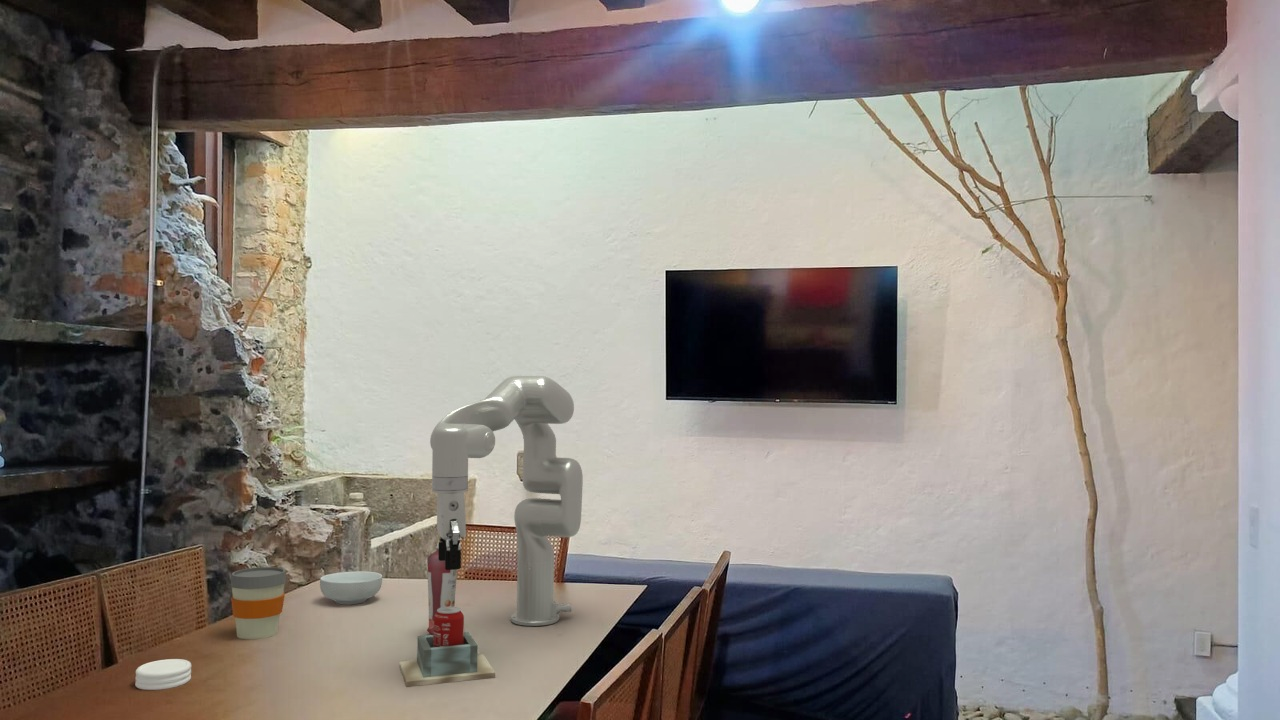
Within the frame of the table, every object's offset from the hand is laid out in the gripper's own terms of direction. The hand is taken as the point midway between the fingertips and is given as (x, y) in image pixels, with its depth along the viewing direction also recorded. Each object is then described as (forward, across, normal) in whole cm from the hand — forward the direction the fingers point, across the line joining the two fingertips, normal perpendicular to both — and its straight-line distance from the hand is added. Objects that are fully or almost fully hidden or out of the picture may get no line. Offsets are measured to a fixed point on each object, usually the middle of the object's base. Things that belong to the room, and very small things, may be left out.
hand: (449, 564), depth 188 cm
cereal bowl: (+24, +71, +16) cm, 77 cm away
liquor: (+23, +28, -2) cm, 37 cm away
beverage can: (+22, 0, 0) cm, 22 cm away
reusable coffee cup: (+23, +43, +40) cm, 63 cm away
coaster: (+22, +11, +56) cm, 61 cm away
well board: (+22, -1, 0) cm, 23 cm away
